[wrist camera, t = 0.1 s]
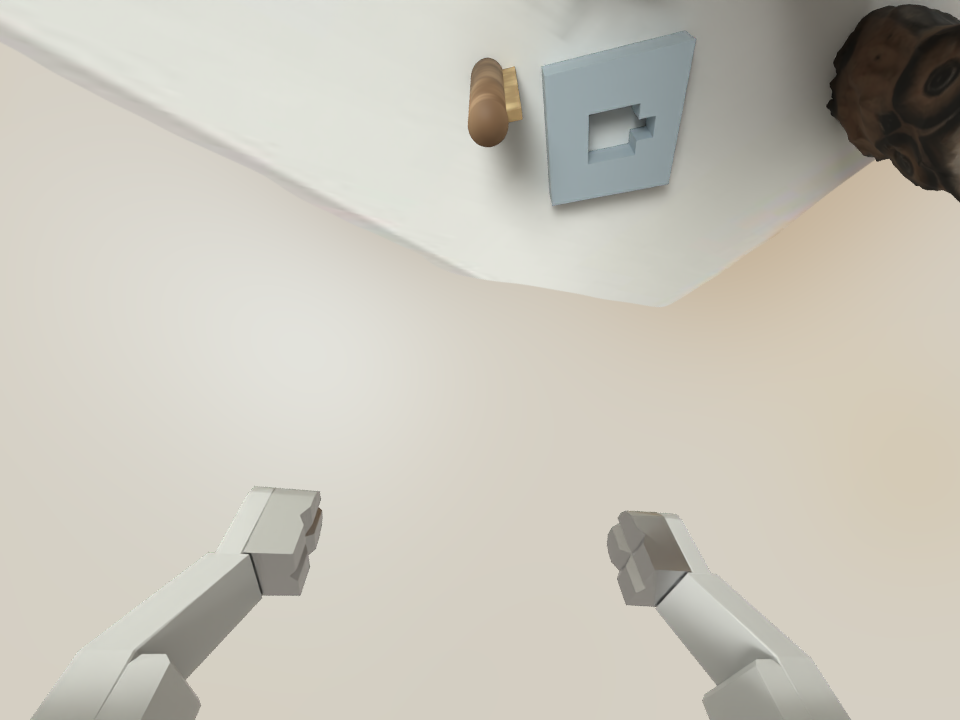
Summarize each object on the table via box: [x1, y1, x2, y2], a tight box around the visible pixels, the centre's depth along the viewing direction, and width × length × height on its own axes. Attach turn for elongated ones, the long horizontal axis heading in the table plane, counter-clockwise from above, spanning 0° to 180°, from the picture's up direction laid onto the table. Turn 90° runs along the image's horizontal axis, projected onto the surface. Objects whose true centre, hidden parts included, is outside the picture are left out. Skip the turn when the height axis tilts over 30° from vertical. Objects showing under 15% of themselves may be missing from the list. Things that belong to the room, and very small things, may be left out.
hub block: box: [541, 31, 696, 206], centre depth 48 cm, size 16×16×4 cm
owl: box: [826, 4, 960, 202], centre depth 38 cm, size 13×13×20 cm
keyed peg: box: [468, 58, 522, 147], centre depth 41 cm, size 5×4×14 cm
